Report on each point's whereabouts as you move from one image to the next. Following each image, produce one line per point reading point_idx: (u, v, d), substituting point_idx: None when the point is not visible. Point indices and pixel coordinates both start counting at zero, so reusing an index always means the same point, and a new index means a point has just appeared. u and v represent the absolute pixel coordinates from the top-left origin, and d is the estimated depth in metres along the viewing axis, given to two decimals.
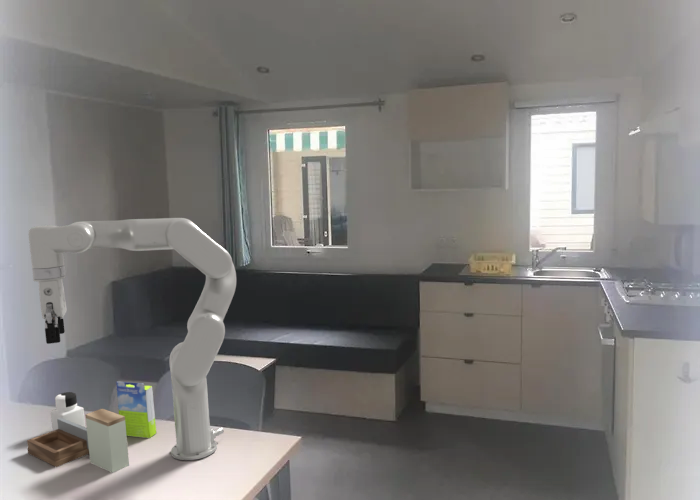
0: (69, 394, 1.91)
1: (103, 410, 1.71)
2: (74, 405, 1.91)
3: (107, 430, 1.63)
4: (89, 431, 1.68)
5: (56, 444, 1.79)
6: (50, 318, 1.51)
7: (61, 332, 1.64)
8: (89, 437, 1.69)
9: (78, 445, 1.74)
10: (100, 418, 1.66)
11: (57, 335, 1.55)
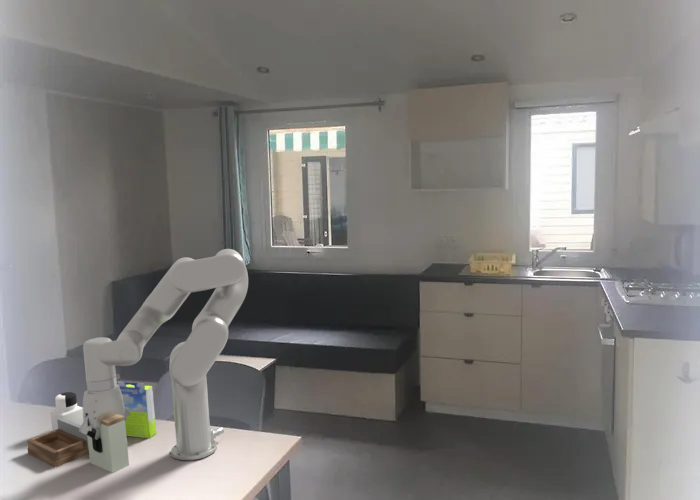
0: (69, 394, 1.91)
1: None
2: (74, 405, 1.91)
3: (107, 430, 1.63)
4: None
5: (56, 444, 1.79)
6: None
7: None
8: (89, 437, 1.69)
9: (78, 445, 1.74)
10: None
11: None
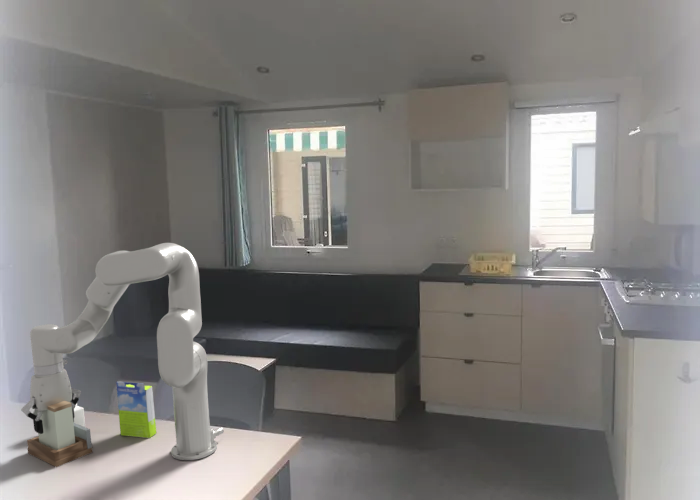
0: None
1: None
2: None
3: (53, 416, 1.70)
4: None
5: None
6: None
7: None
8: None
9: (78, 445, 1.74)
10: None
11: None
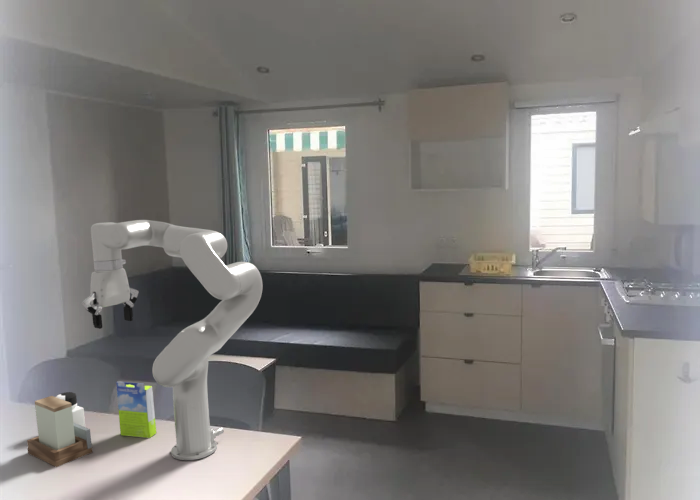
0: (69, 394, 1.91)
1: (52, 397, 1.79)
2: (74, 405, 1.91)
3: (53, 416, 1.70)
4: (38, 417, 1.76)
5: None
6: None
7: None
8: (38, 423, 1.76)
9: (78, 445, 1.74)
10: (47, 404, 1.73)
11: None
